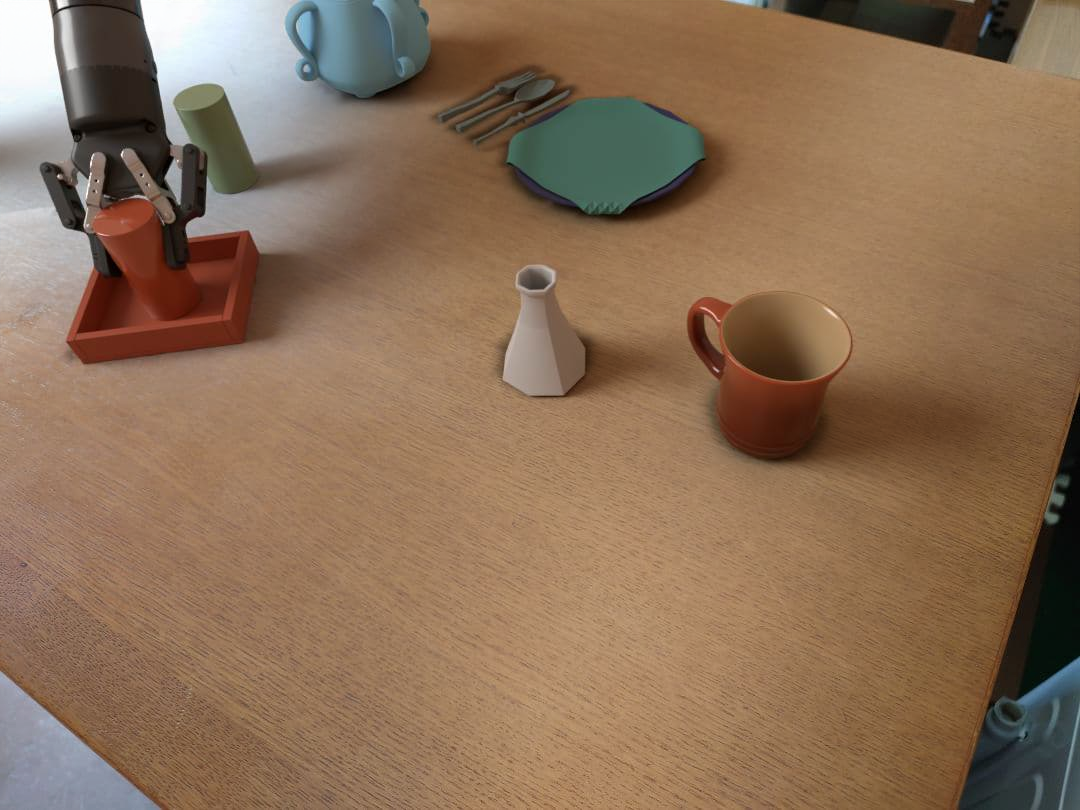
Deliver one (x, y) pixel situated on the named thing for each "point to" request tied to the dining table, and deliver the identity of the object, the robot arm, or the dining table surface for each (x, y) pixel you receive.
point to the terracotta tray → (219, 319)
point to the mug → (770, 366)
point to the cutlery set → (593, 147)
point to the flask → (542, 339)
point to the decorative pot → (359, 42)
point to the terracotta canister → (145, 258)
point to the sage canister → (217, 137)
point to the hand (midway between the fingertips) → (145, 272)
